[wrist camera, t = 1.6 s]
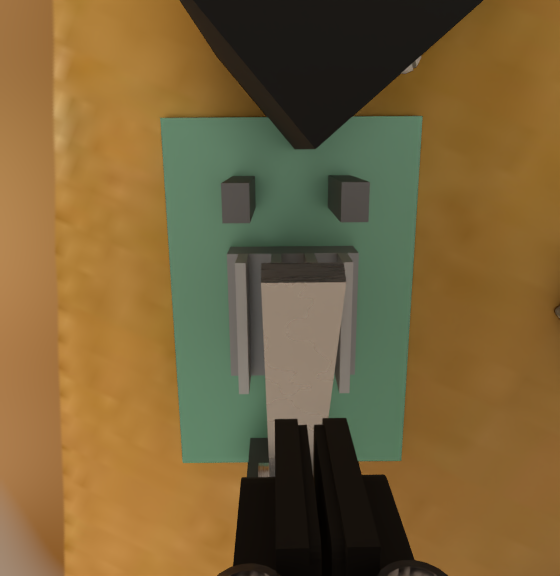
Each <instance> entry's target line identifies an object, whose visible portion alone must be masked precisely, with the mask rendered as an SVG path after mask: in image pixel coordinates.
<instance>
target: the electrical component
mask: <svg viewBox="0 0 560 576" xmlns="http://www.w3.org/2000/svg"><path fill="white" fill-rule="evenodd" d="M482 1H483V0H180V2H181V3H182V5H183V6H184V8H185V9H186V11H187V12H188V14H189V15H190V17H191V18H192V20H193V21H194V23H195V24H196V26H197V27H198V29H199V30H200V32H201V33H202V35H203V36H204V38H205V39H206V41H207V42H208V44H209V45H210V47H211V49H212V50H213V52H214V53H215V55H216V56H217V57H218V59H219V60H220V61H221V62H222V63H223V65H224V66H225V67H226V68H227V69H228V71H229V72H230V73H231V74H232V75H233V77H234V78H235V79H236V80H237V81H238V83H239V84H240V85H241V86H242V87H243V89H244V90H245V91H246V92H247V93H248V95H249V96H250V97H251V98H252V99H253V101H254V102H255V103H256V104H257V105H258V107H259V108H260V109H261V110H262V111H263V113H264V114H265V115H266V116H267V117H268V118H269V119H270V120H271V121H272V123H273V124H274V125H275V126H276V127H277V129H278V130H279V131H280V132H281V133H282V135H283V136H284V137H285V138H286V139H287V141H288V142H289V143H290V144H291V145H292V147H293V148H294V149H316V148H318V147H319V146H320V145H321V144H322V143H323V142H324V141H325V140H327V139H328V138H329V137H330V136H331V135H332V134H333V133H334V132H336V131H337V130H338V129H339V128H340V127H341V126H342V125H343V124H345V123H346V122H347V121H348V120H349V119H350V118H351V117H352V116H354V115H355V114H356V113H357V112H358V111H359V110H360V109H361V108H363V107H364V106H365V105H366V104H367V103H368V102H369V101H370V100H372V99H373V98H374V97H375V96H376V95H377V94H378V93H379V92H381V91H382V90H383V89H384V88H385V87H386V86H387V85H388V84H390V83H391V82H392V81H393V80H394V79H395V78H396V77H397V76H399V75H400V74H401V73H402V74H406V73H408V72H410V71H413V68H416V67H417V65H418V63H419V61H420V59H421V55H422V54H423V53H424V52H426V51H427V50H428V49H429V48H430V47H431V46H432V45H433V44H435V43H436V42H437V41H438V40H439V39H440V38H441V37H442V36H444V35H445V34H446V33H447V32H448V31H449V30H450V29H451V28H453V27H454V26H455V25H456V24H457V23H458V22H459V21H461V20H462V19H463V18H464V17H465V16H466V15H467V14H468V13H470V12H471V11H472V10H473V9H474V8H475V7H476V6H477V5H479V4H480V3H481V2H482Z"/></svg>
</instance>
